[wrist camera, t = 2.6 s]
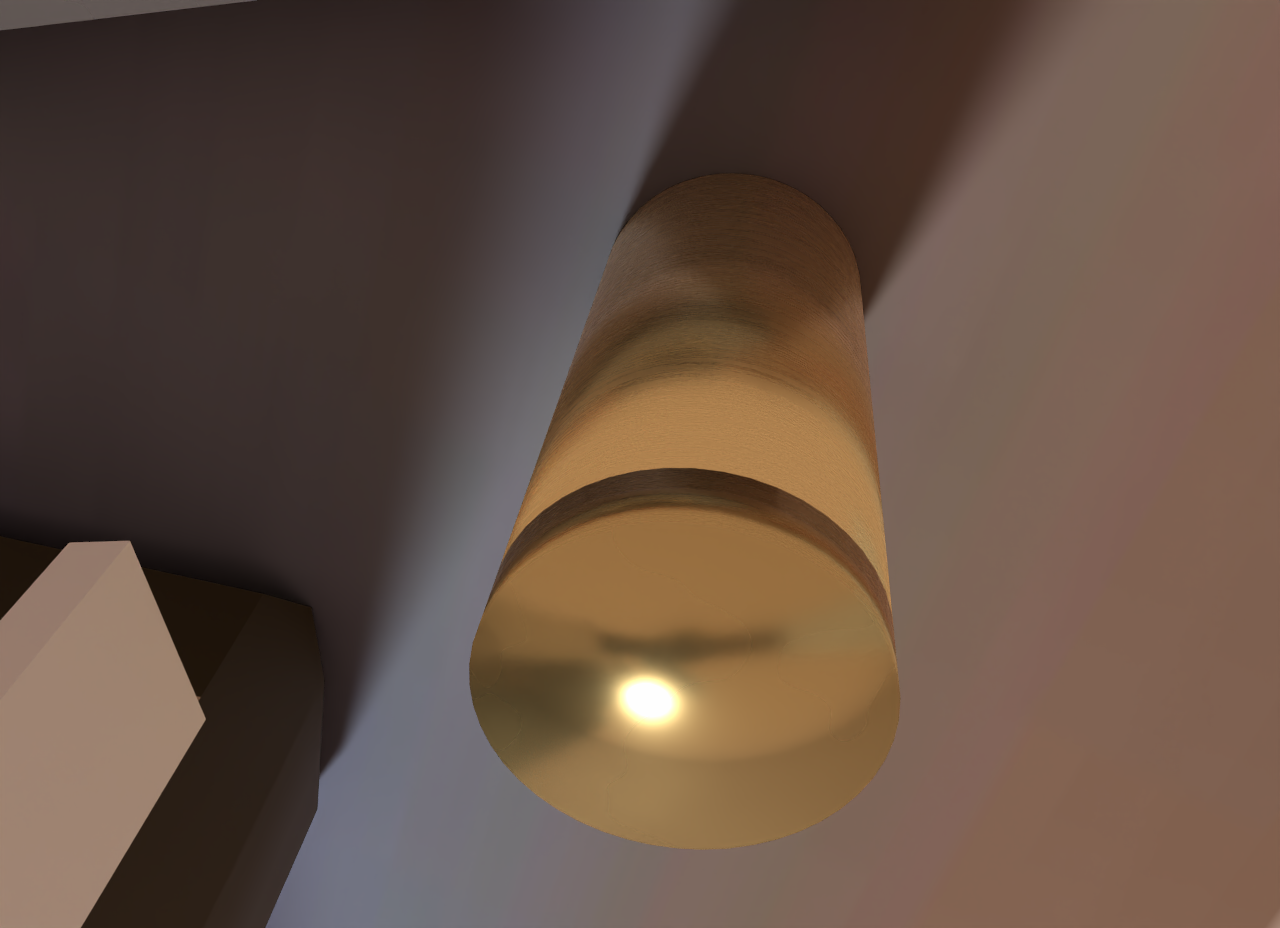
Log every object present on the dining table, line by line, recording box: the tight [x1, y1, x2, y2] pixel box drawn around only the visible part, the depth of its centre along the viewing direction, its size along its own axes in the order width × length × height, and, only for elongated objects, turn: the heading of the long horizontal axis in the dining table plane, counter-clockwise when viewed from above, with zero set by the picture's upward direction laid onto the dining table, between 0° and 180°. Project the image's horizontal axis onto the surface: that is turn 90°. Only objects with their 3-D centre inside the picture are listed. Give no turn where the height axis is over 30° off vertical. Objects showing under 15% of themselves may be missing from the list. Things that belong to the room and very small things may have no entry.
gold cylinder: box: [469, 173, 900, 849], centre depth 17 cm, size 4×4×10 cm
